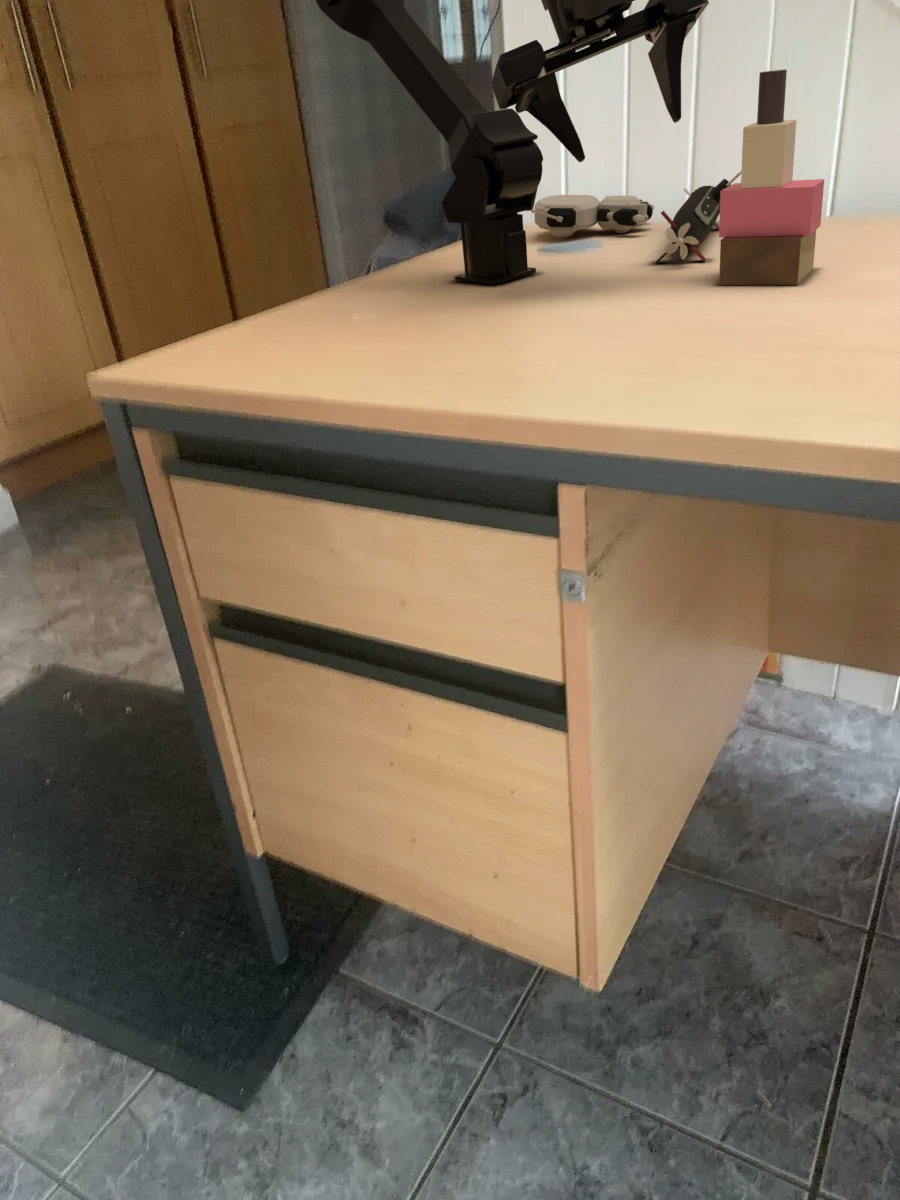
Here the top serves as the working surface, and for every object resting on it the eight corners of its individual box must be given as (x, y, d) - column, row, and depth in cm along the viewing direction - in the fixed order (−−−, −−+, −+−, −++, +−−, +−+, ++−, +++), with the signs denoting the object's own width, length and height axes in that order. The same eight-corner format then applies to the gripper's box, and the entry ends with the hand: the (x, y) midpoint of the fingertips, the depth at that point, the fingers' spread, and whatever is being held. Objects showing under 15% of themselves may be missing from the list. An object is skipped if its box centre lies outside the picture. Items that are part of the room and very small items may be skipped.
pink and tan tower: (718, 237, 86) (724, 76, 80) (732, 228, 90) (738, 73, 84) (810, 235, 83) (823, 66, 76) (820, 226, 86) (834, 63, 80)
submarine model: (673, 292, 97) (753, 219, 91) (630, 243, 96) (707, 167, 90) (703, 240, 122) (766, 181, 117) (668, 201, 121) (731, 139, 116)
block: (718, 285, 87) (720, 239, 85) (738, 269, 92) (740, 226, 90) (797, 285, 84) (801, 238, 82) (813, 269, 89) (816, 224, 87)
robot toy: (654, 228, 125) (543, 226, 128) (657, 191, 122) (543, 191, 126) (646, 244, 115) (525, 242, 118) (649, 204, 112) (526, 203, 116)
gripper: (476, -46, 73) (548, 153, 76) (697, -138, 73) (762, 63, 76) (465, 19, 84) (528, 190, 87) (657, -62, 84) (715, 112, 87)
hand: (630, 140), depth 84 cm, fingers open, 9 cm apart
